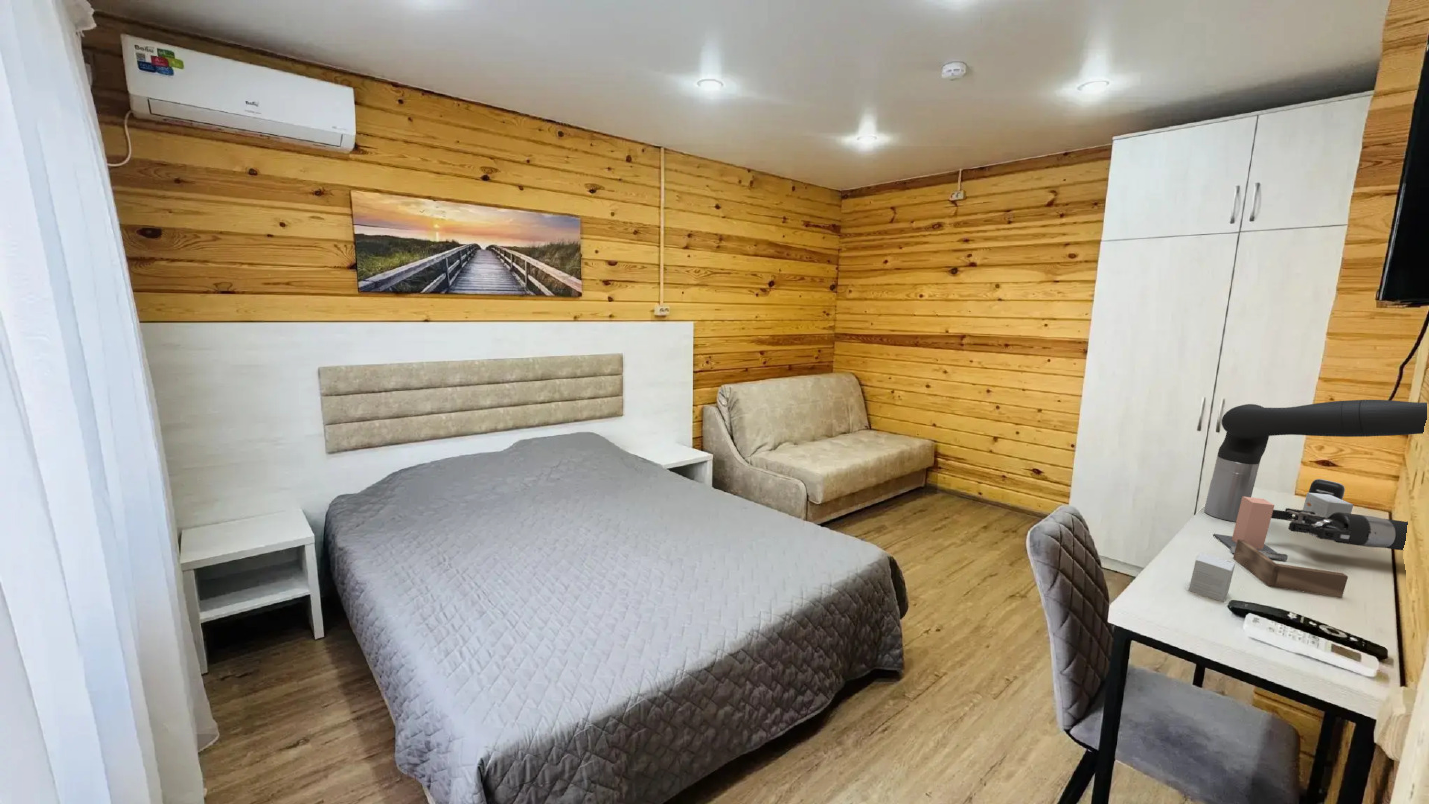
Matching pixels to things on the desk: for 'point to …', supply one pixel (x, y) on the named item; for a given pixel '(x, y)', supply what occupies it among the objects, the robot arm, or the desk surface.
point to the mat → (1230, 543)
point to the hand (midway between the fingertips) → (1279, 519)
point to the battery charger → (1327, 488)
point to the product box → (1212, 576)
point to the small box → (1325, 504)
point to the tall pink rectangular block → (1253, 521)
